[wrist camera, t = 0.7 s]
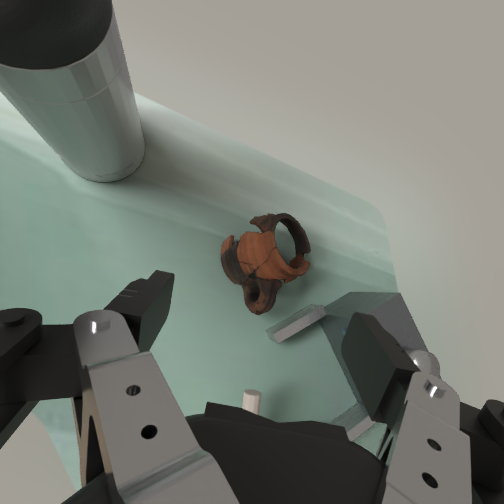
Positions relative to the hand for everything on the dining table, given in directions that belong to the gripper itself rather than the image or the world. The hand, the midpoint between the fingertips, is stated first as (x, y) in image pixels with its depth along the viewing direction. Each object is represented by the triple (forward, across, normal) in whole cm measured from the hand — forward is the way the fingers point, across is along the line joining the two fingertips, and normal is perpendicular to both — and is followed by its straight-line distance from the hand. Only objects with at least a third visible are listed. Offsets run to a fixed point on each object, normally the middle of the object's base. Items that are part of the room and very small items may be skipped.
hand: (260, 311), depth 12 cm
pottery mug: (+23, -2, +6) cm, 24 cm away
